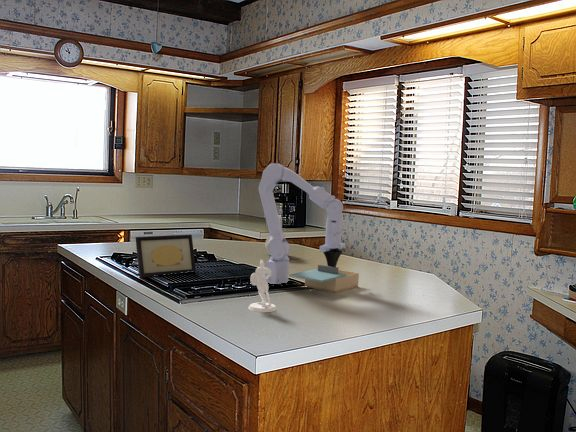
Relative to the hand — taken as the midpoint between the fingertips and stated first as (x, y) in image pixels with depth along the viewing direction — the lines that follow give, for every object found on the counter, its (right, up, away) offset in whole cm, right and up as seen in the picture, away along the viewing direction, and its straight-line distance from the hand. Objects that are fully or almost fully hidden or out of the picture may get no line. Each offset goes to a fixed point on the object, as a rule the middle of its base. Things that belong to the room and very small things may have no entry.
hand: (331, 269), depth 212 cm
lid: (-5, -2, -7) cm, 9 cm away
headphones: (-22, 0, +67) cm, 70 cm away
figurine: (-24, -9, -36) cm, 44 cm away
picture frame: (-64, -3, +11) cm, 64 cm away
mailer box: (0, -6, +1) cm, 6 cm away
